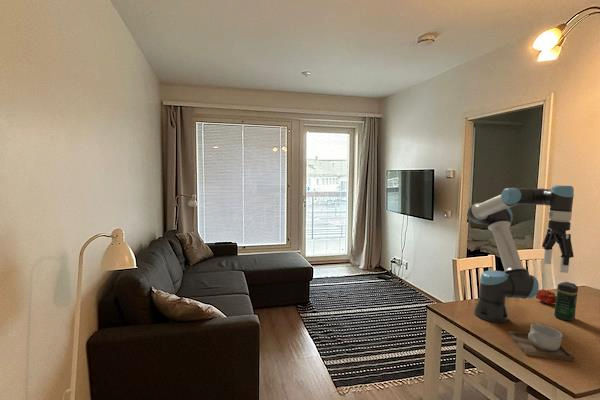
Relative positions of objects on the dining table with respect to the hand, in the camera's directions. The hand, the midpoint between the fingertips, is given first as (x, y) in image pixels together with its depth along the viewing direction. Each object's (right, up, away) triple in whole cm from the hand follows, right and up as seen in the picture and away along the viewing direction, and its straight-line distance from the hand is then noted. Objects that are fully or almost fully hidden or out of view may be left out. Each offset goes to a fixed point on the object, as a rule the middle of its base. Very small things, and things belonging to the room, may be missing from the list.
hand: (555, 267), depth 141 cm
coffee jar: (+25, -32, +25) cm, 48 cm away
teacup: (-11, -33, -7) cm, 35 cm away
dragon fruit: (+31, -30, +44) cm, 62 cm away
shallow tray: (-11, -33, -5) cm, 35 cm away
